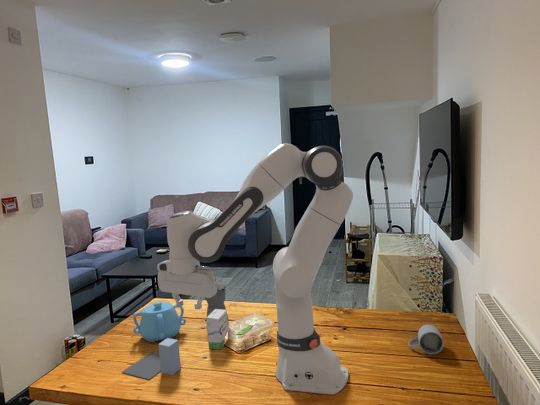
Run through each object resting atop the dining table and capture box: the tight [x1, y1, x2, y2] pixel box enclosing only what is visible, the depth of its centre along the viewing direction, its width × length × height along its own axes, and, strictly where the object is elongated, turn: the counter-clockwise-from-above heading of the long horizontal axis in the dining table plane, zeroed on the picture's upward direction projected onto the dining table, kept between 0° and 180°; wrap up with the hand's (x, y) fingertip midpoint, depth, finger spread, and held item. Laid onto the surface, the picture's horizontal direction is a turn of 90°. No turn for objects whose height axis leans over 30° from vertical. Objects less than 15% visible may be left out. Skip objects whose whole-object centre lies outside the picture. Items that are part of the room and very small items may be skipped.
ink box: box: [205, 309, 229, 350], centre depth 151 cm, size 8×5×12 cm, turn 164°
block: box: [158, 338, 182, 376], centre depth 135 cm, size 4×4×10 cm
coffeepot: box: [204, 278, 229, 320], centre depth 171 cm, size 15×9×18 cm, turn 44°
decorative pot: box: [133, 300, 187, 343], centre depth 161 cm, size 16×16×14 cm
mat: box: [121, 351, 161, 381], centre depth 140 cm, size 12×14×1 cm
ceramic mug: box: [408, 324, 445, 355], centre depth 139 cm, size 11×8×8 cm
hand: (189, 307), depth 128 cm, fingers open, 6 cm apart
